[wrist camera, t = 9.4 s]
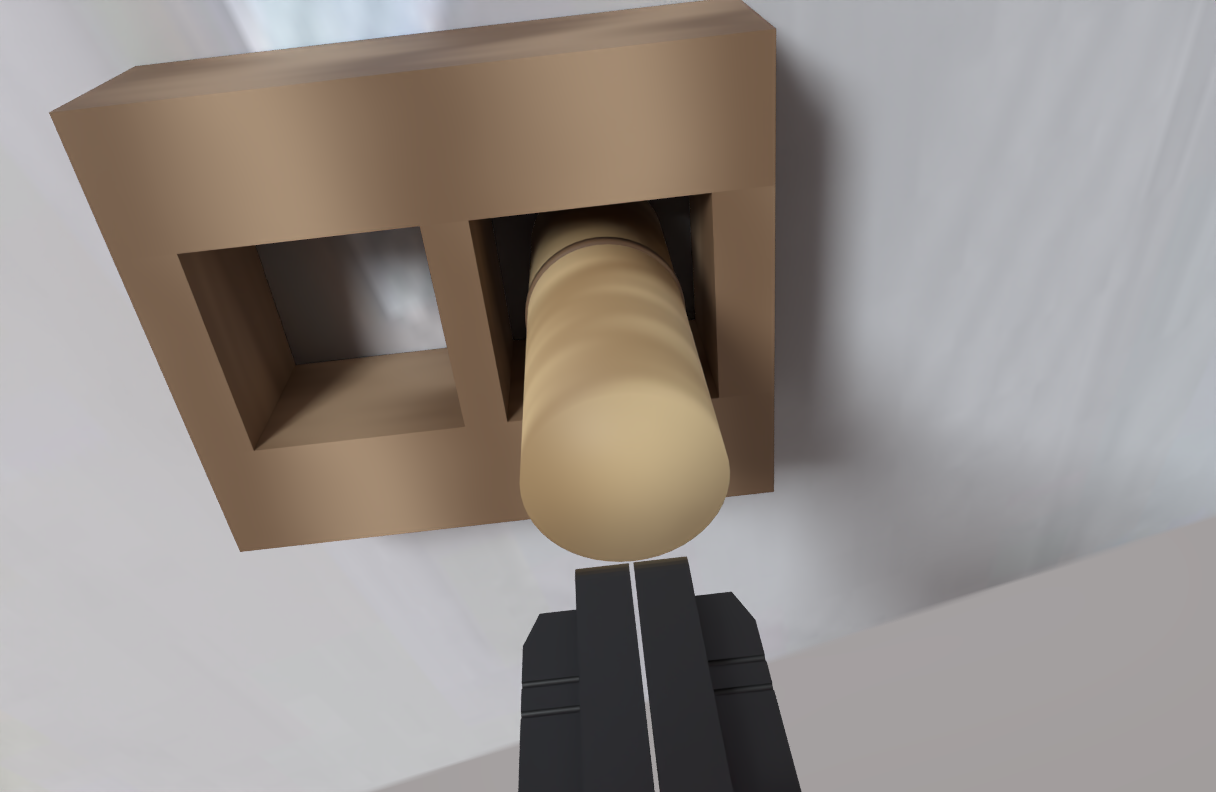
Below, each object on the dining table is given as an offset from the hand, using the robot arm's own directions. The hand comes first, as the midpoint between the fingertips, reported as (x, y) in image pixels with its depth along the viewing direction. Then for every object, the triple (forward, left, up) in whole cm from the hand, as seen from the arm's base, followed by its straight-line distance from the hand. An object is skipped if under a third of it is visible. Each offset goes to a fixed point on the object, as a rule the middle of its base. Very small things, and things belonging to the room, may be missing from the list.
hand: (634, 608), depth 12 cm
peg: (0, 0, -13) cm, 13 cm away
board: (+3, 0, -13) cm, 13 cm away
